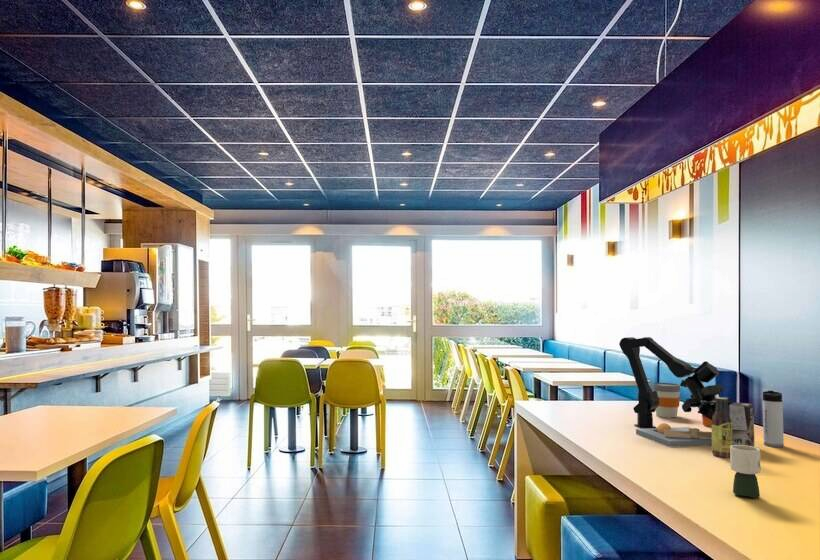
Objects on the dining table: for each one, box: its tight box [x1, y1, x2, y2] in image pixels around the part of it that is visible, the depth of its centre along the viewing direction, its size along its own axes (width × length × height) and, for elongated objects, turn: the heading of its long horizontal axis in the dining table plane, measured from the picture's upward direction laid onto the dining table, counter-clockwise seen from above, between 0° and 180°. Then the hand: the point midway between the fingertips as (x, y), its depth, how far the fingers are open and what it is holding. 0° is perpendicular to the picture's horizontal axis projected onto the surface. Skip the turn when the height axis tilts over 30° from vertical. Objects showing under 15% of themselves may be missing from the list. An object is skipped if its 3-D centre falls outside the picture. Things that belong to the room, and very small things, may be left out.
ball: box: [657, 422, 672, 434], centre depth 219 cm, size 5×5×5 cm
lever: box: [664, 408, 716, 438], centre depth 210 cm, size 4×21×11 cm, turn 78°
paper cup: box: [701, 394, 720, 428], centre depth 243 cm, size 8×8×14 cm
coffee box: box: [729, 401, 756, 447], centre depth 203 cm, size 9×6×16 cm
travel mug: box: [762, 390, 785, 448], centre depth 208 cm, size 6×7×20 cm
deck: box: [635, 426, 712, 447], centre depth 217 cm, size 22×24×2 cm
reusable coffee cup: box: [651, 382, 682, 418], centre depth 264 cm, size 13×13×15 cm
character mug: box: [729, 445, 762, 499], centre depth 151 cm, size 11×7×13 cm, turn 167°
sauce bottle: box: [711, 397, 732, 458], centre depth 193 cm, size 7×6×20 cm
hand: (718, 422), depth 210 cm, fingers closed
